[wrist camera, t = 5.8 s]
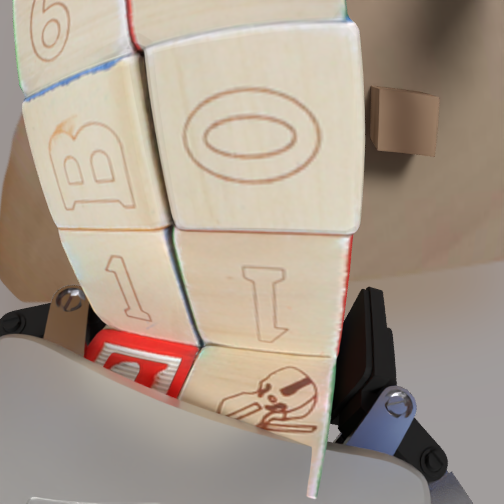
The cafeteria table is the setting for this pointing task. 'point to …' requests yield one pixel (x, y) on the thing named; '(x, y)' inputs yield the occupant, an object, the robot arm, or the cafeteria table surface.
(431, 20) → the cafeteria table surface
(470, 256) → the cafeteria table surface
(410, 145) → the walnut cube
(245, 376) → the stack of blocks
